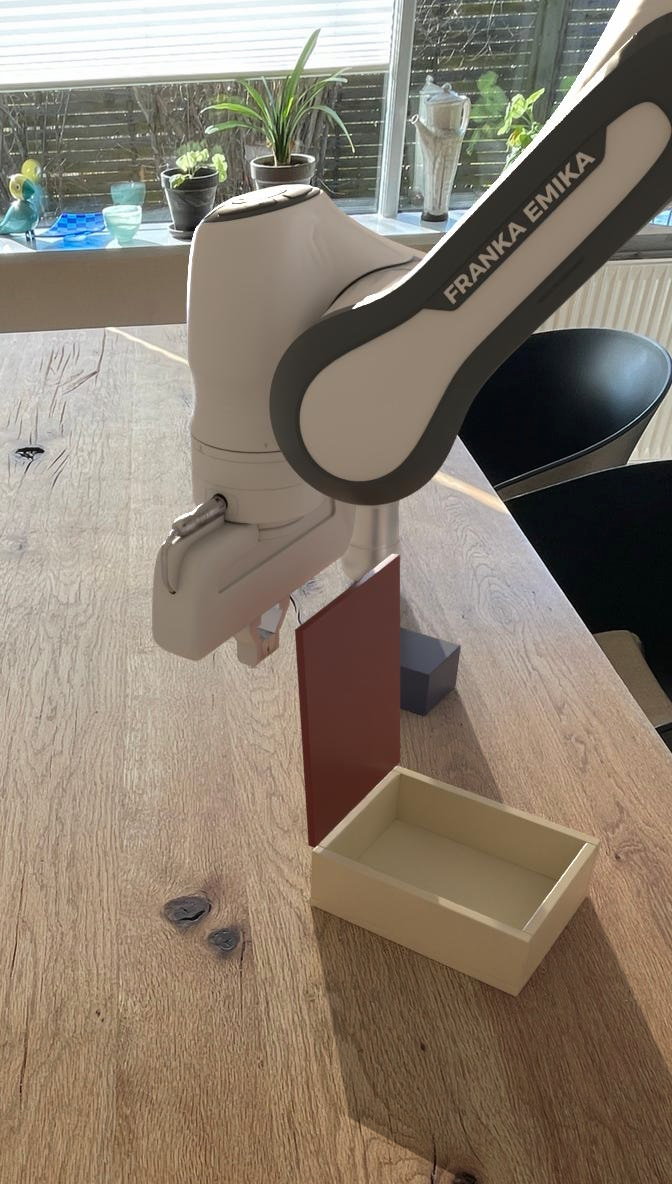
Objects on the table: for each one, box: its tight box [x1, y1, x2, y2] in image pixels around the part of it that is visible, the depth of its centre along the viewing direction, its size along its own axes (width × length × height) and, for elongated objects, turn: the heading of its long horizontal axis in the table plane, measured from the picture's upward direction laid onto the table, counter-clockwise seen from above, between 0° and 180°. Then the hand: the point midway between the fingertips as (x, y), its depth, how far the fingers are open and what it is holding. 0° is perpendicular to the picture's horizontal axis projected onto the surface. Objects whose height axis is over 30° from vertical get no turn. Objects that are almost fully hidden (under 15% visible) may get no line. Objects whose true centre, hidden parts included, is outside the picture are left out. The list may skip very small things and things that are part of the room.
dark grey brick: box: [400, 626, 462, 717], centre depth 106 cm, size 10×6×4 cm, turn 53°
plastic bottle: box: [339, 500, 403, 582], centre depth 118 cm, size 6×7×20 cm
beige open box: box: [309, 765, 602, 998], centre depth 83 cm, size 17×13×5 cm
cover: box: [294, 554, 401, 849], centre depth 80 cm, size 17×13×1 cm
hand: (258, 656), depth 83 cm, fingers closed
